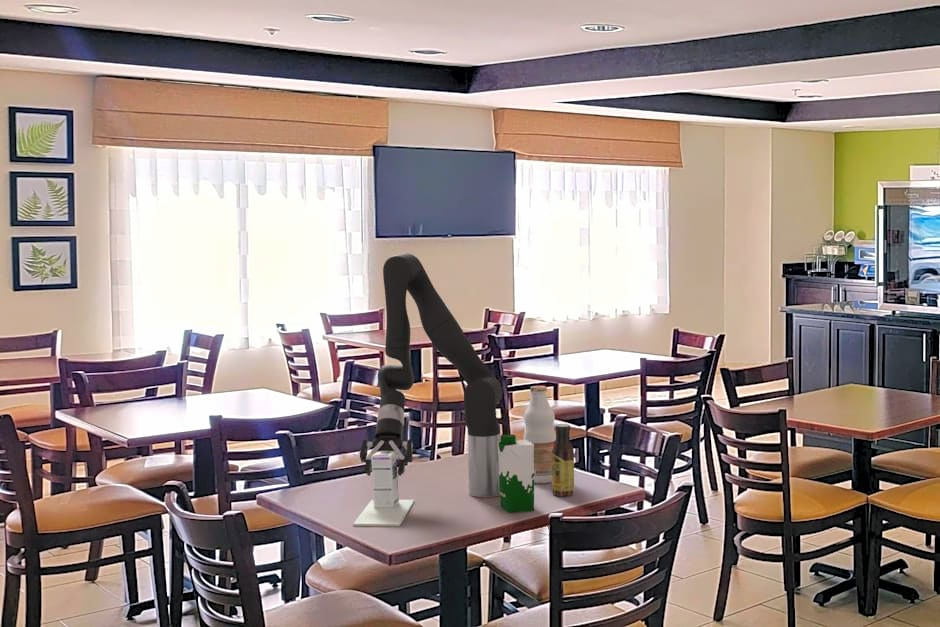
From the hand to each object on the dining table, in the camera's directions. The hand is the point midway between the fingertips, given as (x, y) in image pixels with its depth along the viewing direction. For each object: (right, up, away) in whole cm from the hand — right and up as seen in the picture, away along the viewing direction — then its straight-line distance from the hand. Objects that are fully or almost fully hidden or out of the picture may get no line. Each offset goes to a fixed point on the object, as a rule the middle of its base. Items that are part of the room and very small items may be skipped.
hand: (384, 474), depth 286 cm
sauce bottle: (+49, -7, +10) cm, 51 cm away
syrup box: (0, -9, +2) cm, 9 cm away
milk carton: (+36, -9, -3) cm, 37 cm away
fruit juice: (+44, -6, +28) cm, 53 cm away
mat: (+1, -10, -5) cm, 11 cm away
